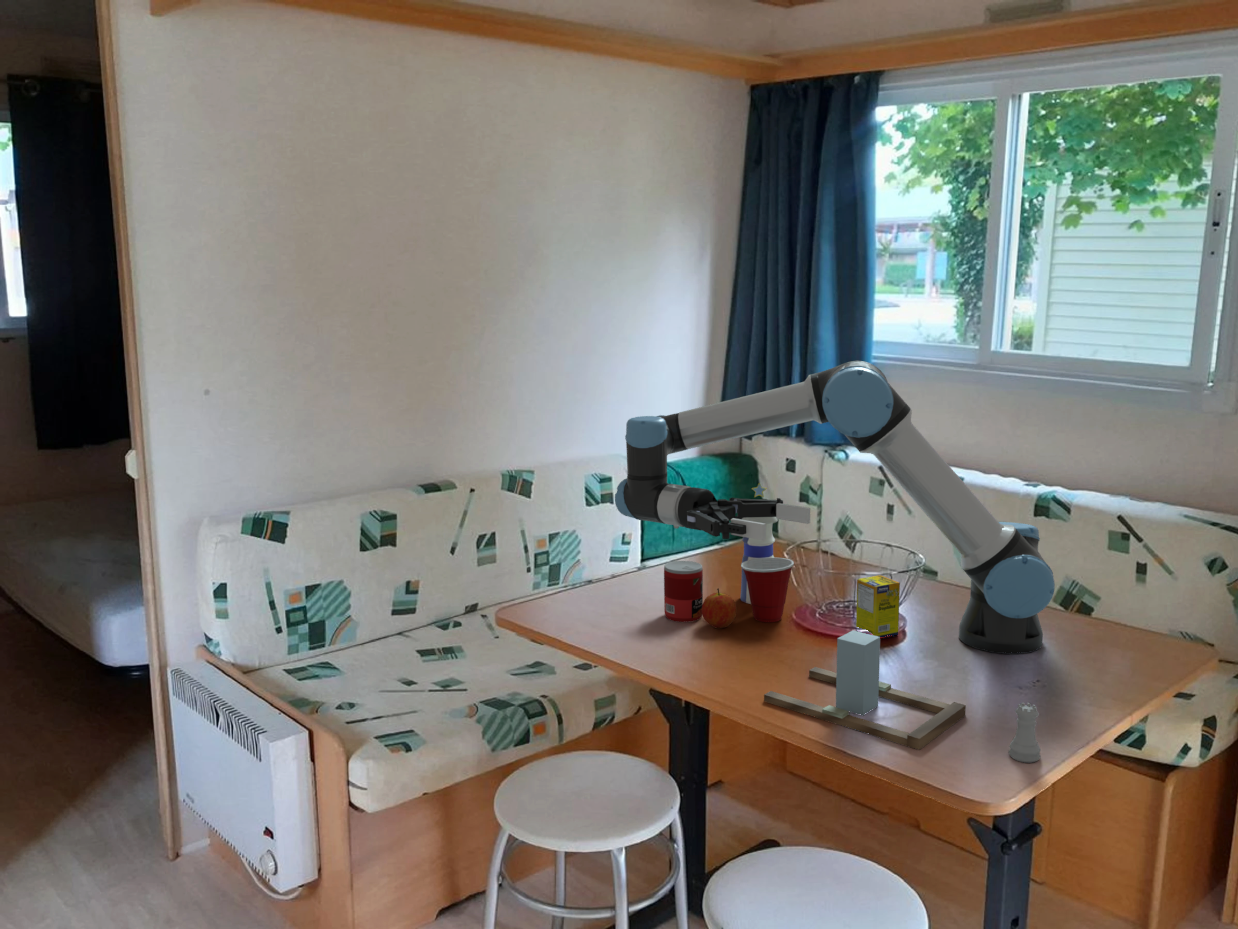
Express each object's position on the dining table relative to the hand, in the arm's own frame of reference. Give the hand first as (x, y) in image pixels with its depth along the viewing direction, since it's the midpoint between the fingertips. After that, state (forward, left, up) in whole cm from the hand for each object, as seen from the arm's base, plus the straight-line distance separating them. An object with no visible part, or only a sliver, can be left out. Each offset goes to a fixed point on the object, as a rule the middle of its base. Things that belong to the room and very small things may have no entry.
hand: (787, 523), depth 180 cm
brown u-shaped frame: (-12, +7, -29) cm, 32 cm away
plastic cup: (+6, -35, -29) cm, 46 cm away
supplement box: (-16, -29, -29) cm, 44 cm away
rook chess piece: (-36, +21, -29) cm, 51 cm away
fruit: (+15, -28, -29) cm, 43 cm away
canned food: (+23, -33, -29) cm, 49 cm away
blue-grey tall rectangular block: (-12, +7, -29) cm, 32 cm away
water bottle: (+9, -47, -29) cm, 56 cm away
